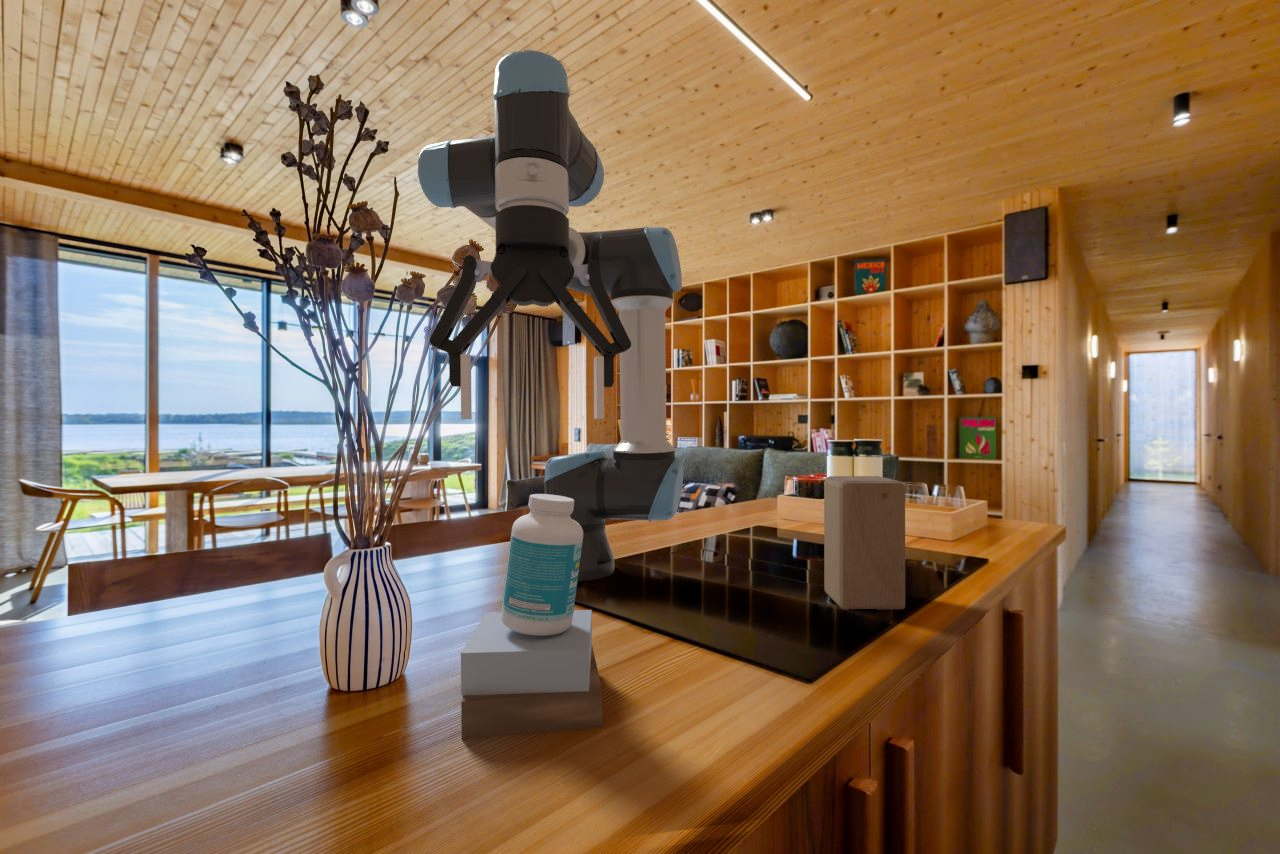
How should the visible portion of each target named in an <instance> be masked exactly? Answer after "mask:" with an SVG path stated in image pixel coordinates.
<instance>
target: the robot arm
mask: <svg viewBox="0 0 1280 854" xmlns="http://www.w3.org/2000/svg"><path fill="white" fill-rule="evenodd" d="M567 74H568V73H567V69H565V66H564V64H562V63H561V61H559V60H558V59H557V58H556V57H554V56H552V55H550V54H548V53H545V52H542V51H539V50H532V49H523V50H521V51H513V52H510V53H508V54H506V55H504V56H502V58H501V59H500V60H499V61H498V63H497V65H496V67H495V73H494V87H493V88H494V89H493V96H492V101H493V103H494V104H493V105H494V106H493V107H494V135H491V136H483V137H474V138H473V137H472V138H464V139H457V140H452V139H447V140H446V141H441V142H437V143H432V144H428V145H427V146H424V147H423V148H422V150H421V151H420V152H419V155H418V158H417V166H418V167H417V177H418V180H419V184H420V187H421V191H422V192H423V193H424V195H425V197H426V199H427V200H428V201H429V203H431V204H432V205H434V206H435V207H438V208H451V209H456V208H458V207H464V208H465V209H467V210H469V212H471V213H472V214H474V215H475V216H477V217H478V218H479V219H480V220H482V221H483V222H484V223H485V224H487V225H488V226H490V227H491V229H493V230H494V231H495V255H494V258H493V259H492V261H487V260H483V259H476V257H474V255H471V254H469V255H468V254H467V255H465V257H464V258H463V261H462V263H463V264H462V270H461V276H460V277H461V278H460V279H459V281H458V284H457V285H456V287H455V289H454V291H453V292H452V295H451V297H450V298H449V301H448V303H447V304H446V307H445V309H444V311H443V312H442V315H441V316H440V318H439V320H438V322H437V324H436V326H435V328H434V329H433V332H432V333H431V336H430V337H429V344H430V345H431V346H432V347H433V348H435V349H436V350H439V351H442V352H446V353H447V354H448V357H449V360H448V361H449V363H448V364H449V365H448V366H449V368H448V369H449V370H448V371H449V376H448V377H449V380H448V381H449V383H450V385H451V386H452V387H453V388H455V387H457V388H460V420H472V415H473V413H472V357H471V355H469V354H468V353H465V352H466V351H467V350H468V348H469V347H470V346H471V345H472V344H473V343H474V342H475V341H476V339H477V338H478V337H479V336H480V335H481V334H482V333H483V331H485V329H486V328H487V327H488V326H489V325H490V324H491V322H493V320H494V319H495V318H496V316H498V315H499V314H500V312H501V311H502V310H503V309H505V308H506V307H507V305H509V303H510V302H512V303H514V304H516V305H517V306H521V307H522V306H523V307H527V306H530V305H535V306H538V307H549V306H550V305H553V304H554V303H555V304H556V305H557V306H558V307H559V308H560V309H561V311H563V312H564V313H565V314H566V315H567V317H568V318H569V319H570V320H571V322H573V324H574V325H575V326H576V327H577V329H578V330H579V331H580V332H581V333H582V335H583V336H584V337H585V338H586V339H587V340H588V342H589V343H590V344H591V345H592V347H593V348H595V350H596V351H597V352H598V354H600V355H596V356H595V357H594V358H593V410H594V411H593V415H594V416H593V417H594V419H595V420H598V419H599V420H601V419H603V420H604V419H605V388H612V387H613V386H614V383H615V357H616V356H617V355H619V385H620V386H619V388H620V389H619V390H620V392H619V393H620V394H619V395H620V397H619V398H620V399H619V400H620V441H619V443H618V444H616V445H615V447H614V448H613V450H612V456H613V457H611V458H610V457H607V455H606V453H605V451H604V450H595V451H589V452H588V451H587V452H580V453H573V454H565V455H559V456H558V455H557V456H552V457H550V458H549V459H548V460H547V461H546V462H545V464H544V465H545V468H544V480H543V484H544V485H543V486H544V494H550V495H558V496H564V497H569V498H572V499H574V510H573V511H572V514H570V517H571V519H573V520H575V521H576V522H578V523H579V524H580V526H581V527H582V529H583V542H582V549H581V557H580V564H579V572H578V580H577V583H578V582H587V581H588V582H589V581H595V580H599V579H603V578H606V577H610V576H611V575H613V574H614V573H615V557H614V554H613V551H612V548H611V545H610V543H609V539H608V537H607V533H606V520H626V521H627V520H628V521H630V520H631V521H647V522H649V523H650V522H653V521H654V522H656V521H668V520H669V521H670V520H671V519H672V518H674V516H675V515H676V514H677V512H678V509H679V505H680V501H681V497H682V491H683V485H684V484H683V483H684V473H685V471H684V461H683V459H681V458H679V457H676V451H675V450H676V449H675V446H673V445H672V443H670V442H669V441H668V438H667V375H666V373H667V370H666V364H667V362H666V361H667V359H666V356H667V354H666V312H667V310H668V309H669V308H670V306H672V305H673V303H674V293H678V292H680V291H682V288H683V285H682V284H683V283H682V281H683V277H682V268H681V262H680V256H679V251H678V248H677V243H676V240H675V237H674V235H673V233H672V231H671V230H670V229H668V228H667V227H664V226H663V227H662V226H660V227H659V226H657V227H656V226H654V227H652V226H651V227H648V226H644V227H636V228H626V229H616V230H615V229H614V230H612V229H611V230H604V231H603V230H601V231H589V232H588V231H587V232H585V231H582V232H581V231H580V232H579V231H577V230H575V229H574V228H573V227H571V226H570V220H569V218H568V217H567V215H568V214H569V211H570V207H571V208H572V207H575V208H577V207H579V208H580V207H583V206H585V205H587V204H590V203H591V202H592V201H593V200H595V199H596V198H597V196H598V195H599V193H600V191H601V190H602V187H603V185H604V181H605V171H604V166H603V163H602V159H601V158H600V156H599V154H598V152H597V149H596V147H595V146H594V143H592V142H591V141H590V140H589V138H587V136H586V135H585V134H584V132H583V130H581V128H580V126H579V124H578V121H577V120H576V118H575V116H574V115H573V114H572V111H571V110H570V106H569V97H570V95H571V93H570V90H569V83H568V75H567ZM489 274H491V276H492V277H493V279H494V280H495V281H496V282H497V283H498V285H499V286H498V287H497V288H496V289H495V291H494V292H493V293H492V294H491V296H490V298H489V299H488V300H487V301H486V302H485V303H484V304H483V306H482V307H481V308H480V309H479V310H478V311H477V312H476V313H475V315H474V316H472V318H471V319H470V320H469V321H468V322H467V323H466V325H465V326H464V327H462V329H461V330H460V331H459V333H458V334H457V335H456V336H455V337H454V338H453V339H450V338H451V336H452V334H453V332H454V329H455V328H456V326H457V324H458V323H459V320H460V318H461V316H462V315H463V313H464V311H465V309H466V306H467V304H468V303H469V301H470V300H471V297H472V295H473V293H474V290H475V289H476V285H477V283H482V282H483V281H484V279H485V277H486V276H487V275H489ZM568 289H569V290H571V291H574V292H577V293H581V294H584V295H588V296H591V299H592V301H593V303H594V306H595V307H596V309H597V311H598V313H599V315H600V318H601V319H602V322H603V323H604V326H605V327H606V329H607V331H608V334H609V335H610V337H611V339H612V342H610V340H608V338H607V337H606V336H605V335H604V333H603V332H602V331H601V330H600V329H599V328H598V326H597V325H596V324H595V323H594V322H593V320H592V319H591V318H590V317H589V315H588V314H587V313H586V312H585V311H584V309H583V308H582V307H581V306H580V305H579V304H578V302H577V301H576V300H575V298H574V296H573V294H571V293H570V291H569V290H568ZM609 296H610V297H609ZM616 310H617V311H616ZM617 312H618V313H617Z"/></svg>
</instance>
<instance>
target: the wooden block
mask: <svg viewBox="0 0 1280 854" xmlns="http://www.w3.org/2000/svg"><path fill="white" fill-rule="evenodd" d="M823 484H824V485H823V491H824V492H823V493H824V494H823V497H824V498H823V501H824V502H823V504H824V505H823V509H824V511H823V513H824V514H823V518H824V519H823V520H824V521H823V523H824V524H823V525H824V526H823V531H824V532H823V535H824V537H823V538H824V539H823V542H824V544H823V545H824V548H823V551H824V552H823V553H824V555H823V558H824V559H823V561H824V562H823V563H824V564H823V565H824V571H823V573H824V574H823V575H824V578H823V579H824V581H823V582H824V583H823V584H824V585H823V586H824V587H823V588H824V592H825V593H826V594H827V596H829V597H830V599H832V600H833V602H834V603H836V604H837V606H838V607H840V609H843V610H847V611H849V609H851V611H852V609H853V611H854V609H877V610H905V609H906V608H905V607H906V487H905V483H904V482H902V481H899V480H895V479H892V478H888V477H883V476H880V475H879V476H878V475H874V476H872V475H869V476H866V475H863V476H862V475H861V476H860V475H857V476H856V475H853V476H851V475H849V476H848V475H845V476H844V475H843V476H842V475H841V476H838V475H837V476H835V475H834V476H833V475H830V476H827V477H826V478H825V479H824V481H823Z"/></svg>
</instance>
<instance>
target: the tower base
mask: <svg viewBox="0 0 1280 854" xmlns="http://www.w3.org/2000/svg"><path fill="white" fill-rule="evenodd" d="M596 661H597V660H596V656H595V652H594V647H593V646H592V650H591V667H590V685H589V691H585V692H554V693H524V694H493V695H463V696H462V699H461V707H460V708H461V710H460V711H461V713H460V714H461V715H460V716H461V719H460V720H461V741H463V740H475V739H485V738H498V737H506V736H507V737H508V736H518V735H531V734H541V733H551V732H552V733H553V732H554V733H555V732H563V731H564V732H566V731H575V730H576V731H577V730H587V729H588V730H589V729H597V728H599V729H600V728H603V726H604V725H603V687H602V683H601V679H600V675H599V669H598V666H597V662H596Z"/></svg>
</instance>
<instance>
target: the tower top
mask: <svg viewBox="0 0 1280 854" xmlns="http://www.w3.org/2000/svg"><path fill="white" fill-rule="evenodd" d="M592 611H593V610H592V609H584V610H583V609H579V610H578V609H577V610H575V609H574V612H573V620H572V623H571V626H570V627H569V628H568V629H567V630H566V631H564V632H562V633H559V634H555V635H547V636H535V635H527V634H522V633H518V632H515V631H513V630H511V629H509V628H508V627H506V626H505V625H504V623H503V622H502V619H501V612H502V611H496V612H495V611H494V612H493V611H492V612H490V611H489V612H485V613H484V616H483V617H482V619H481V620H480V622H479V624H478V625H477V627H476V628H475V630H474V631H473V633H472V634H471V636H470V638H469V639H468V641H467V642H466V645H464V647H463V649H462V651H461V653H460V696H461V697H463V695H493V694H524V693H554V692H585V691H589V685H590V667H591V650H592V647H593V639H592V637H593V636H592V634H593V632H592V631H593V623H592V622H593V621H592V620H593V619H592V618H593V617H592V614H593V613H592Z"/></svg>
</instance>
